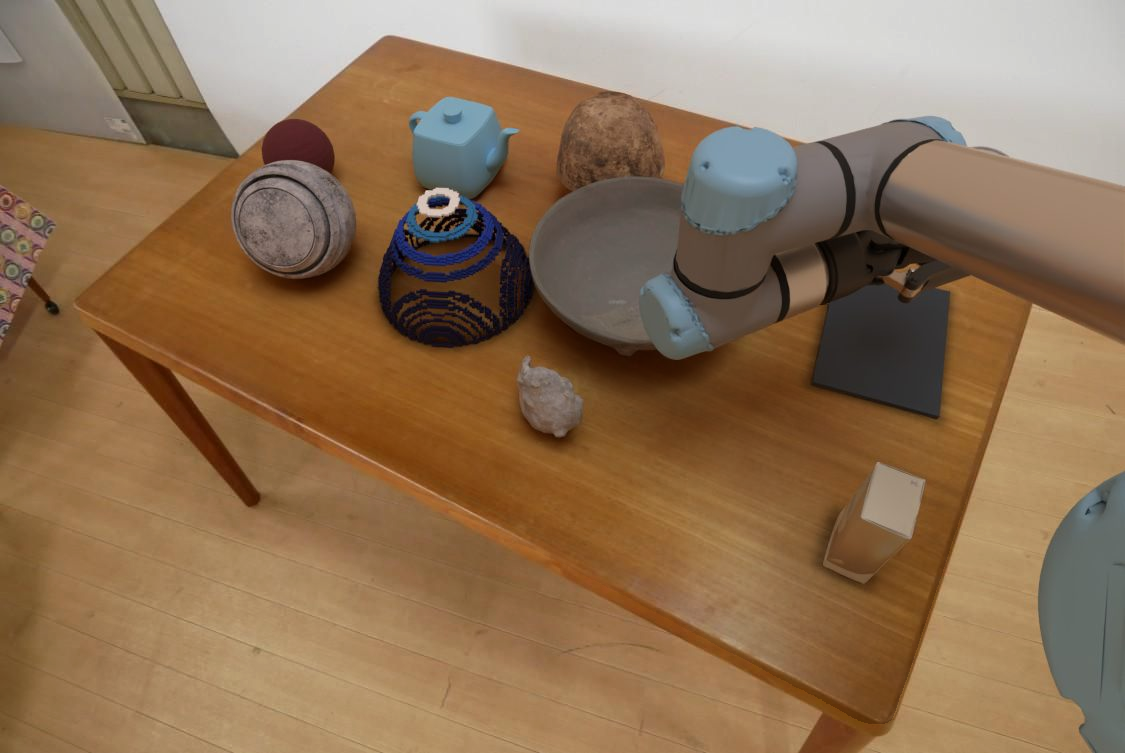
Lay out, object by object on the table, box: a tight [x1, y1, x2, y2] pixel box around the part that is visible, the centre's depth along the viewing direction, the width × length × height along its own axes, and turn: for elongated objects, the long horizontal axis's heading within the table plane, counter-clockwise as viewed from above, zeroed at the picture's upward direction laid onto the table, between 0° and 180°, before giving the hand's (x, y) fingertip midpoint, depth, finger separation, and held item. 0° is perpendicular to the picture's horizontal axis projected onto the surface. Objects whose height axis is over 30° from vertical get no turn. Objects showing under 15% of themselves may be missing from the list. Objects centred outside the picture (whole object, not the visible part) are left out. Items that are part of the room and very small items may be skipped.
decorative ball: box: [261, 118, 336, 175], centre depth 101 cm, size 10×10×10 cm
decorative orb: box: [230, 160, 357, 280], centre depth 90 cm, size 15×14×15 cm
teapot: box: [408, 96, 520, 200], centre depth 100 cm, size 12×18×12 cm
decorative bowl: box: [377, 188, 535, 349], centre depth 86 cm, size 20×20×14 cm
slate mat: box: [810, 283, 951, 420], centre depth 85 cm, size 20×14×1 cm
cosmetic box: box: [822, 461, 926, 585], centre depth 64 cm, size 6×4×12 cm
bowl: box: [528, 177, 685, 357], centre depth 85 cm, size 26×26×10 cm
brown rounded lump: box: [555, 90, 666, 192], centre depth 96 cm, size 15×16×15 cm
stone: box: [516, 355, 584, 438], centre depth 75 cm, size 9×7×10 cm
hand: (1002, 193), depth 68 cm, fingers closed on beverage can, 6 cm apart
